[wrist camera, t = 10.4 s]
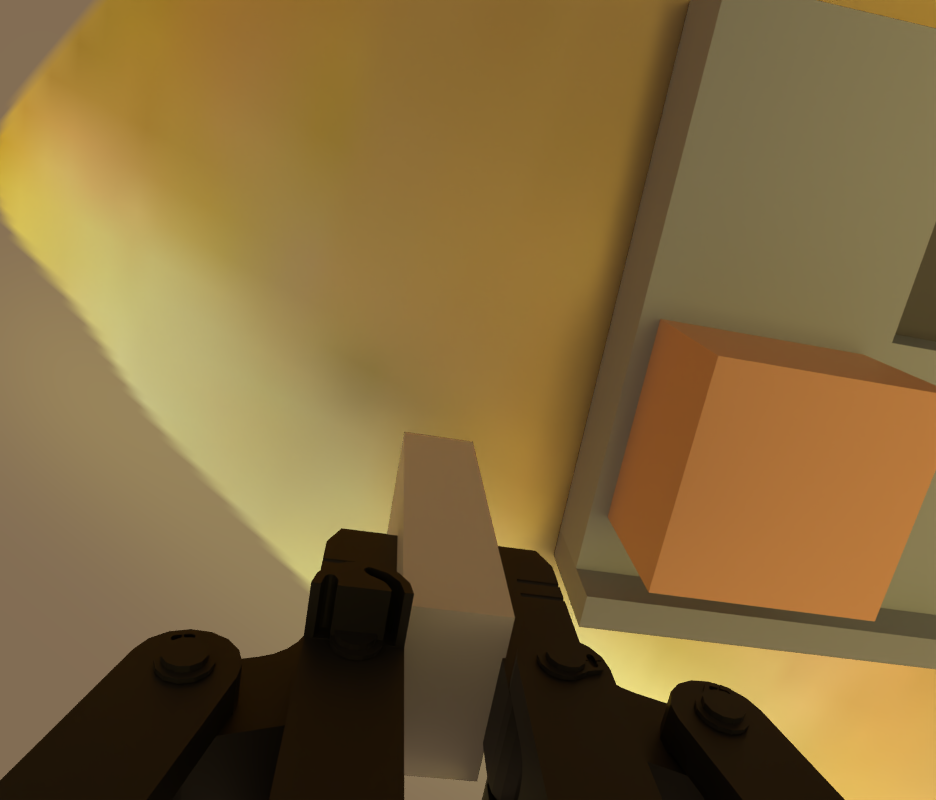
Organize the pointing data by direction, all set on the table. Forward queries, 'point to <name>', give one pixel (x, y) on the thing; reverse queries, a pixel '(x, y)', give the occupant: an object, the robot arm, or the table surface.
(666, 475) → the block
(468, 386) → the table surface
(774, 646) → the block
